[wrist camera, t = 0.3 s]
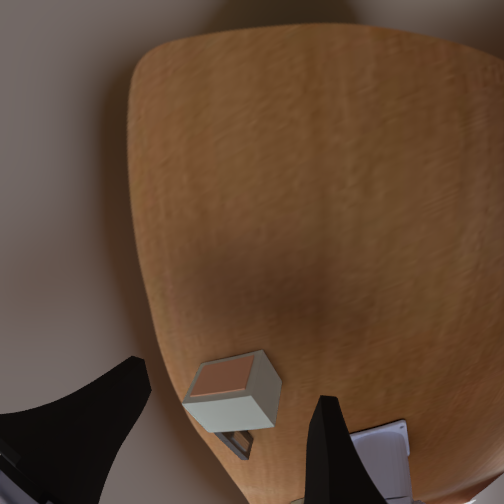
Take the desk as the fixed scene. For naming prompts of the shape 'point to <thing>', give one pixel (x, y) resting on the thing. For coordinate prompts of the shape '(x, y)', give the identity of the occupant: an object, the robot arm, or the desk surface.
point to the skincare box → (298, 501)
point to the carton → (235, 393)
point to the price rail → (237, 442)
